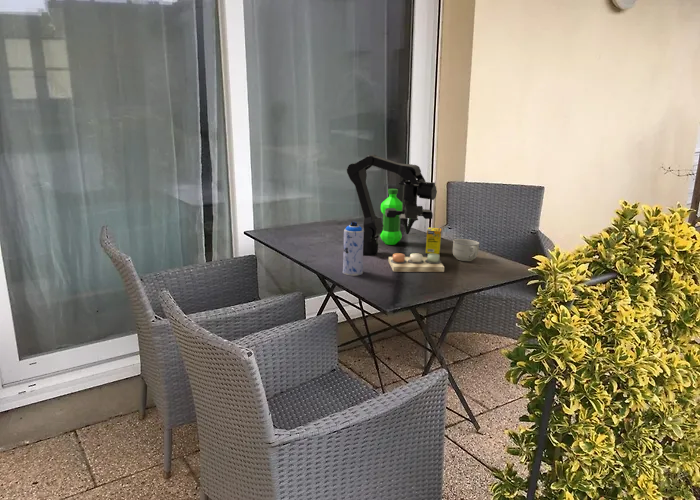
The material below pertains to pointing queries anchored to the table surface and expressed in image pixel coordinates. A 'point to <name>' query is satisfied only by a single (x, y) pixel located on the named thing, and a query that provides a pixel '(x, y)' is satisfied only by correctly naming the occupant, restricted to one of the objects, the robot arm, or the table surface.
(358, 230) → the aerosol can
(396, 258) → the rust button
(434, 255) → the sage button
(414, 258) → the cream button
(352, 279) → the table surface
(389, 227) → the plastic bottle
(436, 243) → the supplement box
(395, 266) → the panel
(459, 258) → the teacup
